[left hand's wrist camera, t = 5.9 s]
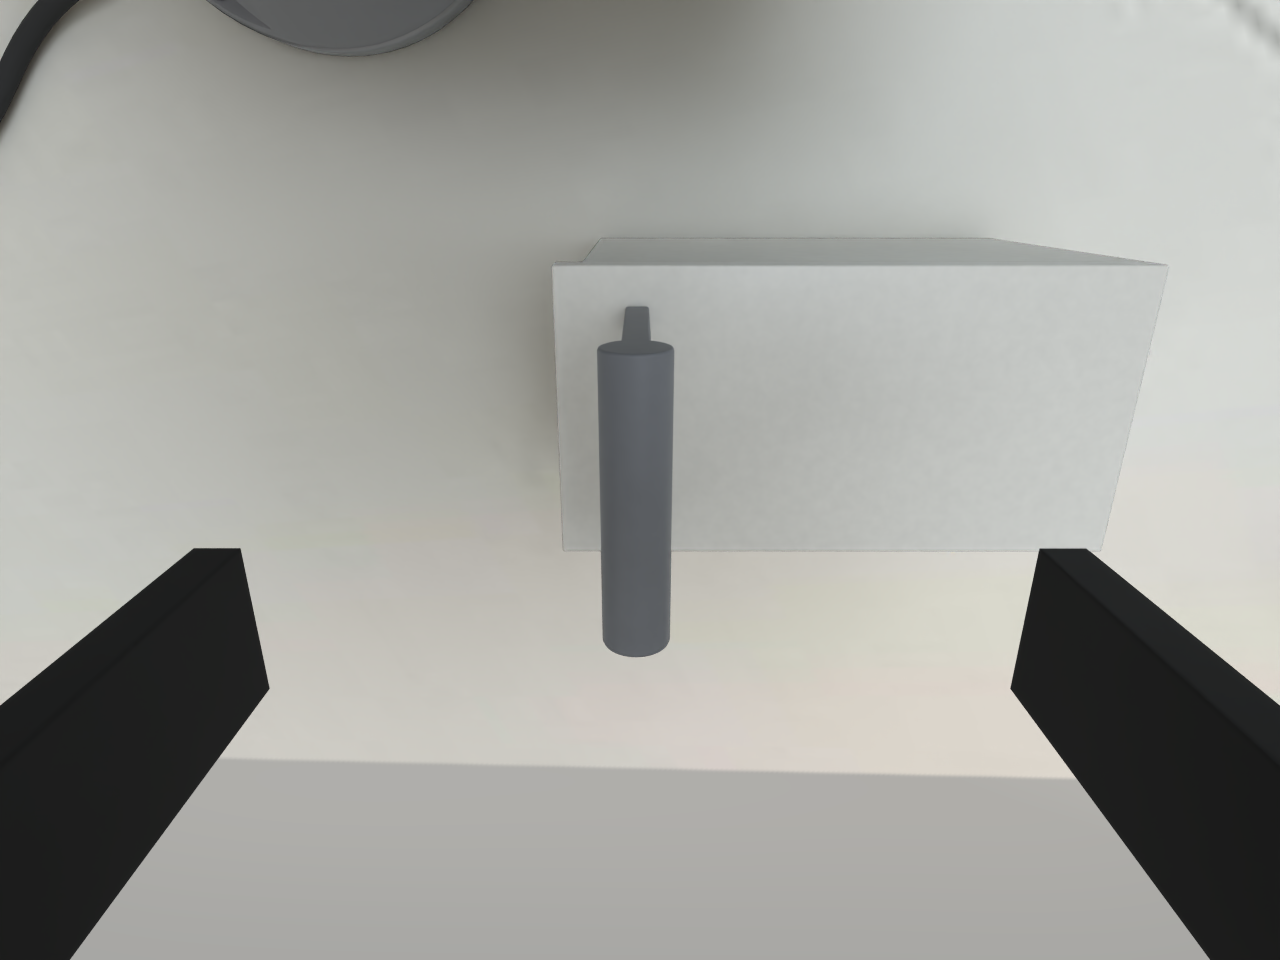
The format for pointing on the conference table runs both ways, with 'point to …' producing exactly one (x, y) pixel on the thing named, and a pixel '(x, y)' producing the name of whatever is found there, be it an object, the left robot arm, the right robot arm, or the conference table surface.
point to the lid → (838, 410)
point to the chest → (832, 250)
